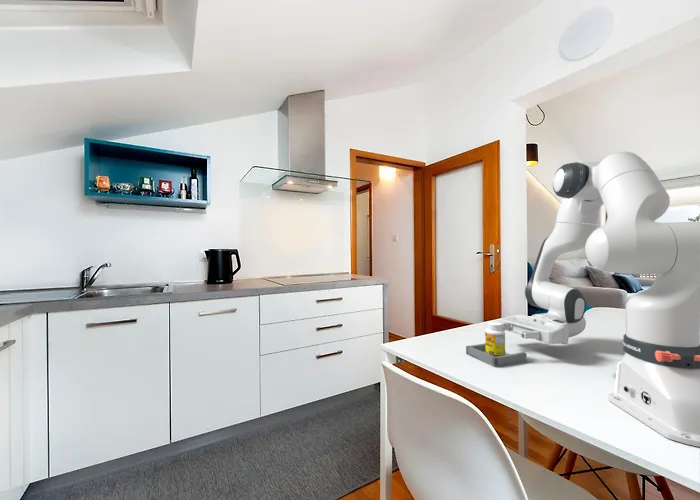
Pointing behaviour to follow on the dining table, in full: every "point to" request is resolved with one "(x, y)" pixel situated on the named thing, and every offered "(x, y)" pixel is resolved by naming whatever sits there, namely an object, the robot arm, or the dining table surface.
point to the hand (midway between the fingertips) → (510, 331)
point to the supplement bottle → (495, 339)
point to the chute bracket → (506, 359)
